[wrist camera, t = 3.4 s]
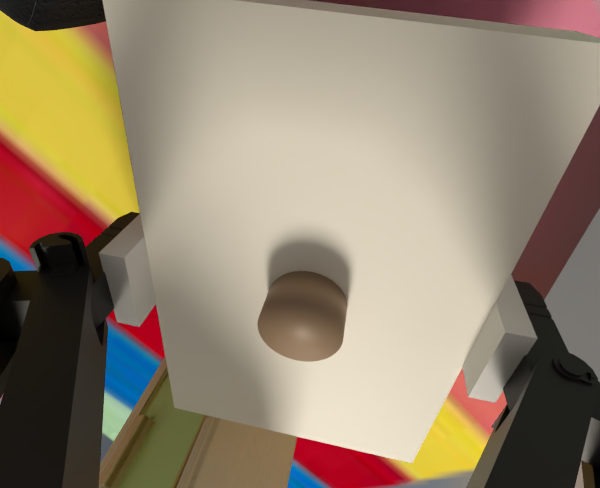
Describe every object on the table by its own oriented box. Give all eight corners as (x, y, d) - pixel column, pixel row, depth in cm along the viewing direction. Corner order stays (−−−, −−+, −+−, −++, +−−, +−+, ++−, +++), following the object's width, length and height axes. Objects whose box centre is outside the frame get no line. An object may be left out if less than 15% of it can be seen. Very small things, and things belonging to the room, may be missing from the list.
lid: (157, -18, 10) (58, -15, 7) (576, 31, 9) (670, 58, 6) (197, 362, 18) (160, 434, 16) (409, 408, 17) (413, 495, 14)
